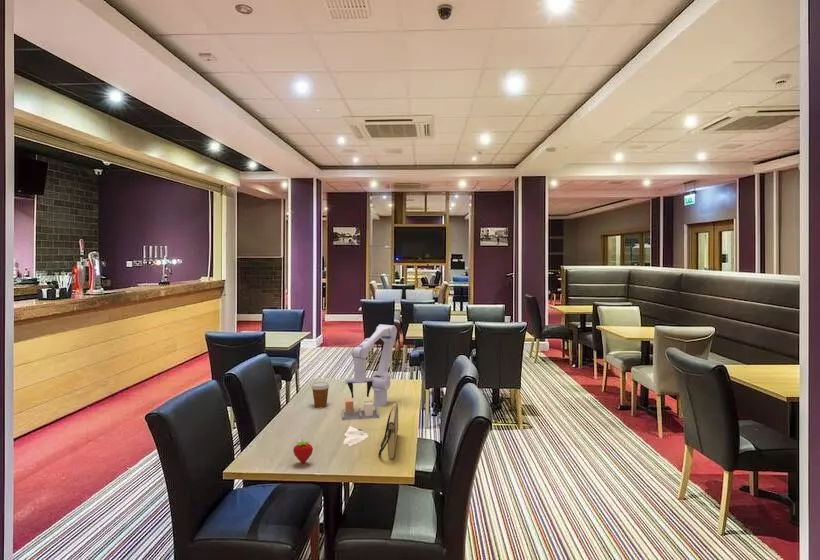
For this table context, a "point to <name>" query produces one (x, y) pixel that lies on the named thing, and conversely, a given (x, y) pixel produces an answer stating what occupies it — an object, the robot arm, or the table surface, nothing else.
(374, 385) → the robot arm
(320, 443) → the table surface
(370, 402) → the white plug
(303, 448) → the strawberry
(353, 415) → the slot rack
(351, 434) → the cloth
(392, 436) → the clutch purse
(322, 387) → the disposable coffee cup
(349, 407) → the terracotta plug
